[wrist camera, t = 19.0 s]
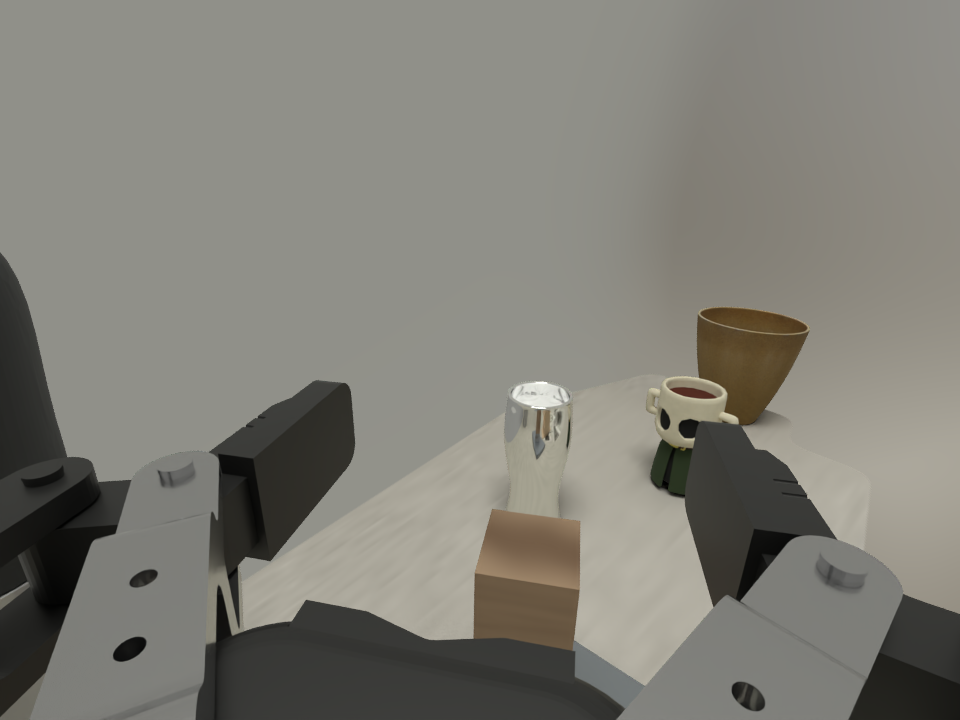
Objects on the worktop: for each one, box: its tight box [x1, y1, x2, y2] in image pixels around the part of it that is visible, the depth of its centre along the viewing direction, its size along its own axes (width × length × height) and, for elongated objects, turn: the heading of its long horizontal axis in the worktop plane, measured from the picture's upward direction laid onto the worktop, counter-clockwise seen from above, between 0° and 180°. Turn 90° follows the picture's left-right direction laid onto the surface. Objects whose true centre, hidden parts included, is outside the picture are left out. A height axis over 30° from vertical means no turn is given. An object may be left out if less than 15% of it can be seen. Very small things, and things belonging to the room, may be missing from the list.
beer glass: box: [504, 381, 573, 518], centre depth 53 cm, size 7×7×15 cm
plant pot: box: [697, 307, 810, 425], centre depth 77 cm, size 15×15×16 cm
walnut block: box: [474, 509, 580, 651], centre depth 29 cm, size 5×5×16 cm
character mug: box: [646, 376, 739, 495], centre depth 59 cm, size 11×7×13 cm, turn 42°
